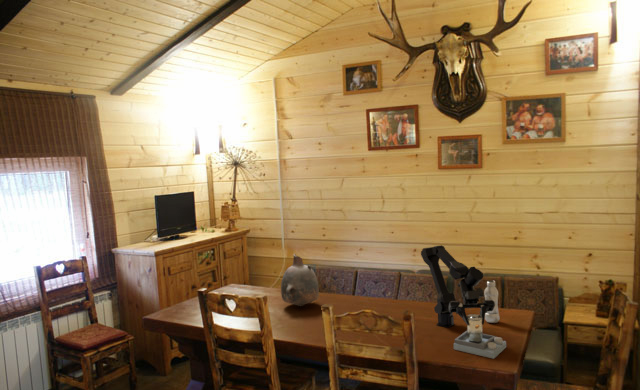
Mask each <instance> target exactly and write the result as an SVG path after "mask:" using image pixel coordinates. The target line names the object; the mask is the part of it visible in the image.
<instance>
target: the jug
mask: <svg viewBox="0 0 640 390" xmlns="http://www.w3.org/2000/svg"><path fill="white" fill-rule="evenodd" d="M292 260H293V262H292V265H291V266H288V268H287V269H286V270H285V272H284V273H283V276H282V278H281V282H280V283H281V284H280V294H281V299H282V301H283V302H284V303H287V304H291V305H295V306H298V307H299V306H300V307H303V306H305V305H306V304H310V303H312V302H314V301H316V300H318V299H319V294H320V292H319V291H320V290H319V289H320V288H319V287H320V286H319V282H318V278H317V275H316V273H315V270H314V269H312V266H311V264H308V265H306V264H304V262H303V258H302V257H301V256H298V255H296V253H293V259H292Z"/></svg>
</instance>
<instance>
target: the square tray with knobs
mask: <svg viewBox="0 0 640 390" xmlns="http://www.w3.org/2000/svg"><path fill="white" fill-rule="evenodd" d="M482 336H483V340H482V341H478V342H475V341H470V340H468V331H467V330H465V331H464V332H462V334H460V335H459V336H457V337H455V338H454V343H453V350H456V351H458V352H459V351H460V352H463V353H468V354H471V355H477V356H480V357H481V356H482V357H484V358H489V359H495V358H497V357H498V356H499V354H500V353H502V352H503V351H504V350H506V348H507V341H506V340H503V338H502V337H500V336H496V335H491V334H487V333H482Z"/></svg>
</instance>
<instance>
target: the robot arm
mask: <svg viewBox="0 0 640 390" xmlns="http://www.w3.org/2000/svg"><path fill="white" fill-rule="evenodd" d="M420 256H421V258H422V259H423V262H424V263H425V265H427V266H428V268H429V270H430V273H431V276H432V279H433V282H434V285H435V288H436V291H437V297H436V303H437V304H436V305H435V306H434V307H433V308H434V313H436V314H437V323H436V326H439V327H443V328H450V327H452V326H453V325H455V322H454V321H455V319H454V313H455V314H456V315H459V317H461V319H462V320H463V322H465V324H466V326H467V325H469V324H468V319H467V314H466V309H479V315H481V316H482V326H484V324H485V313H487V311H493V309H494V307H495V302H494V301H493V300H485V299H484V300H483V302H480V300H479V299H480V298H483V297H485V295H484V290H483V288H478V289H477V290H476V289H475V287H476V286H477V285H479V283H480V282H481V281H482V280H483V278H484V274H483V273H484V272H482V271H481V270H480V269H478V268H476V266H470V267H468V266H467V265H466V264H465V263H463V262H460V261H458V260H456V259H455V258H454V257H453V256H452V254H451V253H449V252H448V250H447V249H446V248H445V245H434V246H428V247H424V248H422V249H421V251H420ZM440 260H441V262H442V263H444V265H445V266H446V267H447V268H448V269H449V271H448V272H449V274H450V276H451V277H452V279H453V280H460V281H459V282H458V284H457V287H458V288H460V292H461V299H462V301H463V302H460V301H459V300H457V299H456V297H455V294H454V293H453V292H450V291H449V289H448V286H447V284H446V280H445V277H444V275H443V272H442V269H441V267H440V263H439V261H440Z"/></svg>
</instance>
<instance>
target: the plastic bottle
mask: <svg viewBox="0 0 640 390" xmlns="http://www.w3.org/2000/svg"><path fill="white" fill-rule="evenodd" d="M483 293H484V300H493V301H494V302H495V307H494V309H493V311H487V313H485V318H484V321H486V322H487V323H490V324H495V323H498V322H499V321H500V313H499V307H498V304H499V303H498V302H499V301H498V300H499V290H498V289H497V287H496V281H495V280H487V281H486V287H485V289H484V290H483Z"/></svg>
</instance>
